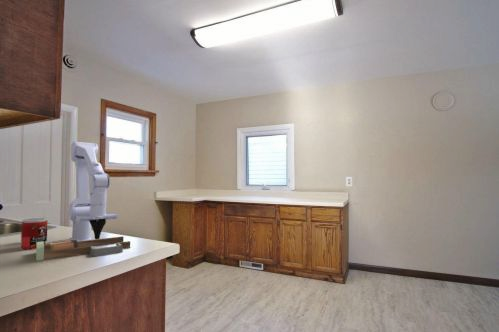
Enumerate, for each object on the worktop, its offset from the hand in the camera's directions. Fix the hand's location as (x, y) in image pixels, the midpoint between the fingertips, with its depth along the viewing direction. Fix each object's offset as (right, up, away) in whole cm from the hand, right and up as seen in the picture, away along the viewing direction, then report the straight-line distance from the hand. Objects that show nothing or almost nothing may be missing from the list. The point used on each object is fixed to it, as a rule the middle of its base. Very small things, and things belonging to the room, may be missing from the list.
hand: (97, 238), depth 109 cm
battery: (-32, -4, +10) cm, 34 cm away
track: (-2, -4, -2) cm, 5 cm away
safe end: (-14, -3, -11) cm, 18 cm away
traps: (-3, -4, -3) cm, 6 cm away
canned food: (-26, -4, +1) cm, 26 cm away
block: (-8, -4, -8) cm, 12 cm away
